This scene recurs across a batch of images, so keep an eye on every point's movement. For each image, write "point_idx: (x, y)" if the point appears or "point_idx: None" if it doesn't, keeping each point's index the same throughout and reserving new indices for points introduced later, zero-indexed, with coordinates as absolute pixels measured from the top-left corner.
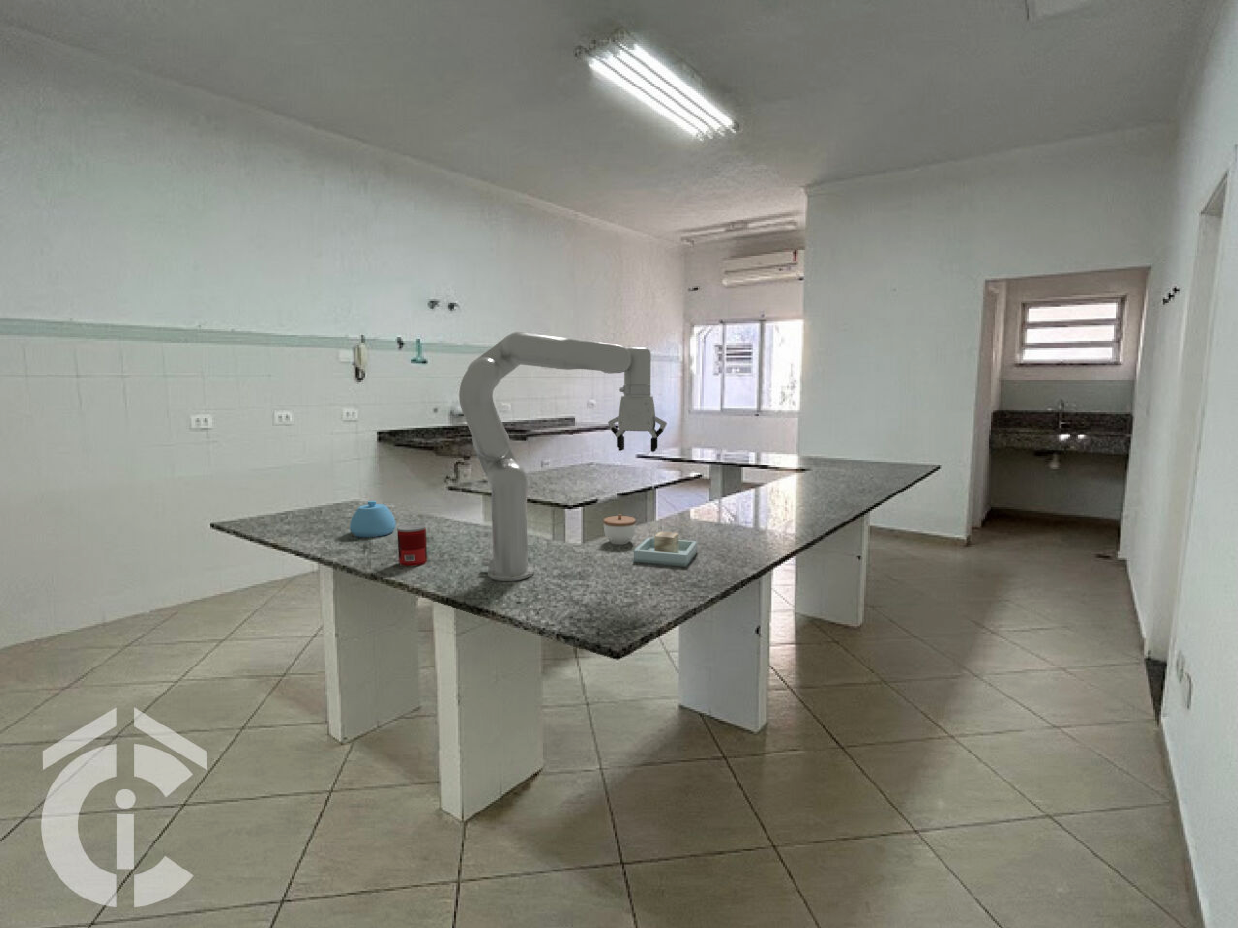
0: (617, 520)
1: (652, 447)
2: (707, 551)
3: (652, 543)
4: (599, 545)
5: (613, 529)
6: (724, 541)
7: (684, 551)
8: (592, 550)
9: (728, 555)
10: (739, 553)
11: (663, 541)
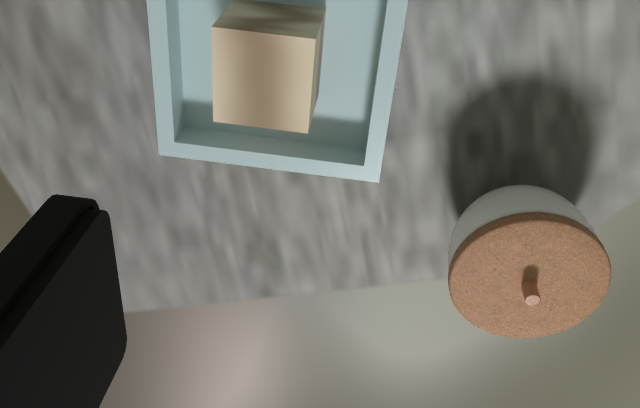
0: (538, 259)
1: (19, 241)
2: (139, 148)
3: (357, 153)
4: (600, 161)
5: (550, 204)
6: (118, 274)
7: (210, 96)
8: (633, 81)
9: (49, 110)
10: (21, 142)
11: (270, 25)
